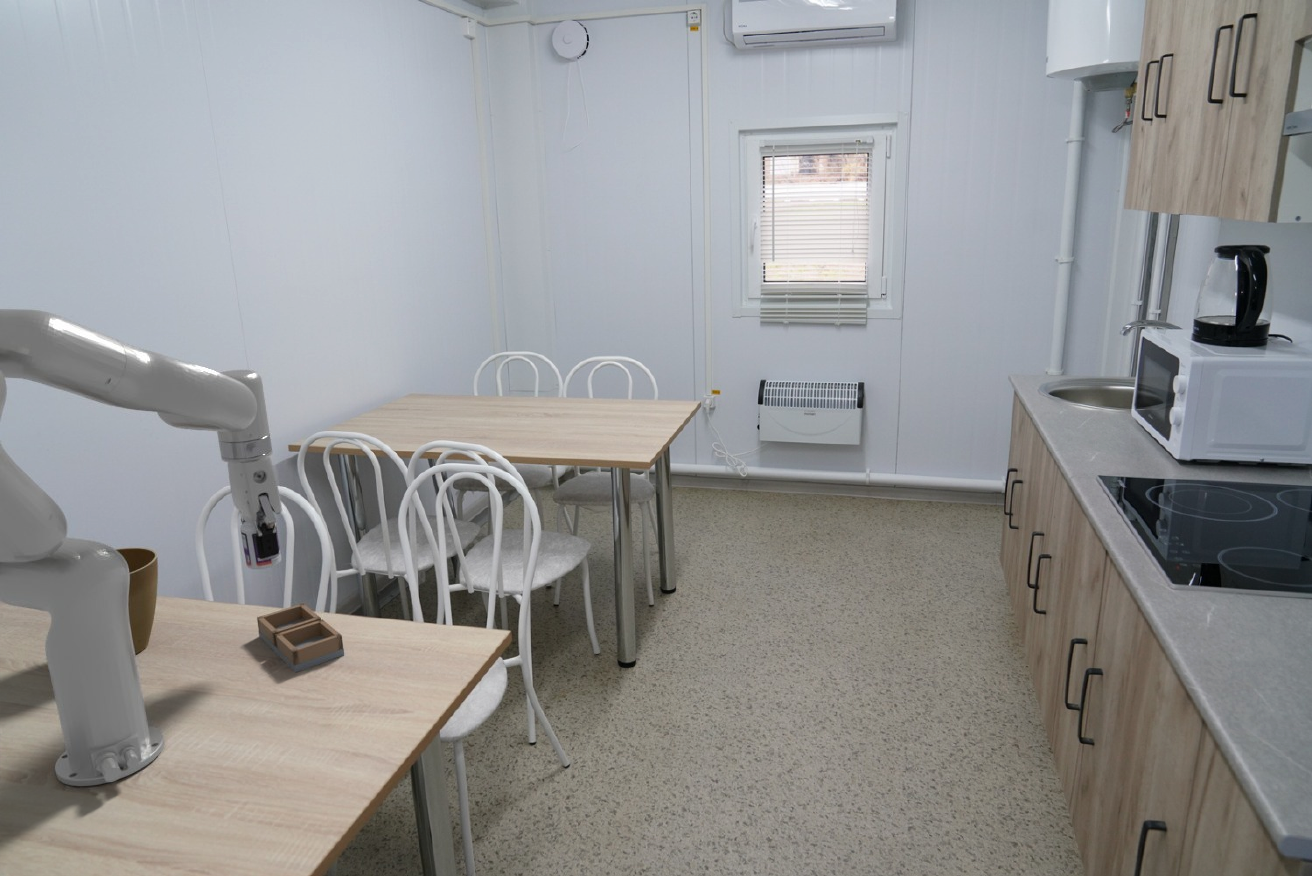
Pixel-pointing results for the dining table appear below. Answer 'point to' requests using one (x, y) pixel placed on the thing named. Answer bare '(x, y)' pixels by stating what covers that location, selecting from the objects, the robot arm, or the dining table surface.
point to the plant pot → (141, 593)
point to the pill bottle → (250, 546)
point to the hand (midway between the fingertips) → (262, 549)
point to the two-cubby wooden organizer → (300, 637)
